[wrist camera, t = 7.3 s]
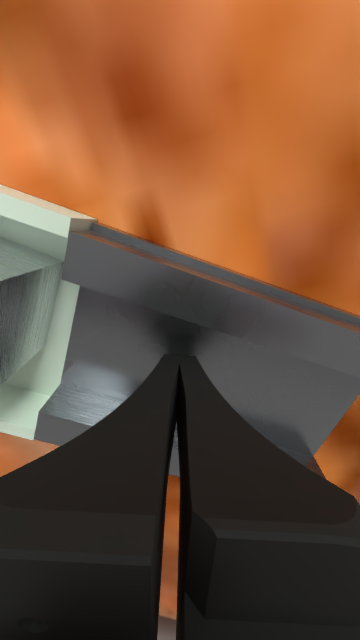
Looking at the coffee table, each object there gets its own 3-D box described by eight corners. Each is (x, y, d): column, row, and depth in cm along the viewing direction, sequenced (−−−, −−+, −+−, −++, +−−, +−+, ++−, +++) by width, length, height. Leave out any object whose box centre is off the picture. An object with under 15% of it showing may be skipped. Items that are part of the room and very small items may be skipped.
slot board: (388, 326, 11) (447, 356, 8) (290, 464, 14) (312, 515, 12) (99, 223, 10) (70, 222, 7) (62, 401, 13) (33, 443, 10)
